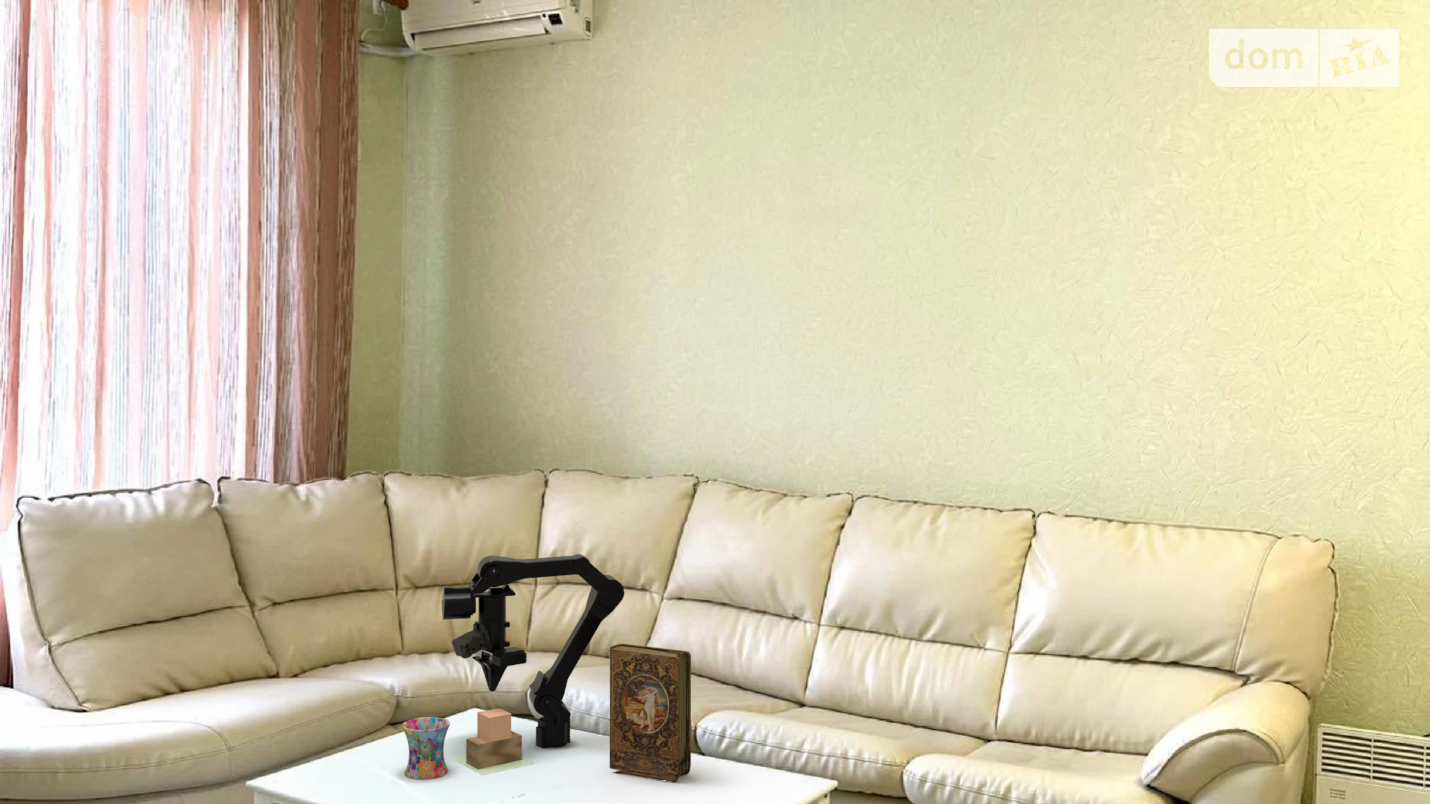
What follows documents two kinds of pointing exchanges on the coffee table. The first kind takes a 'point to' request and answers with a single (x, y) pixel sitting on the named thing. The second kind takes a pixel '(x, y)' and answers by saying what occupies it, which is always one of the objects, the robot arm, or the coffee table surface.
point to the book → (650, 711)
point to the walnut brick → (493, 751)
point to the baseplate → (497, 767)
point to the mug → (426, 747)
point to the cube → (494, 725)
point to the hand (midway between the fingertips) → (492, 690)
